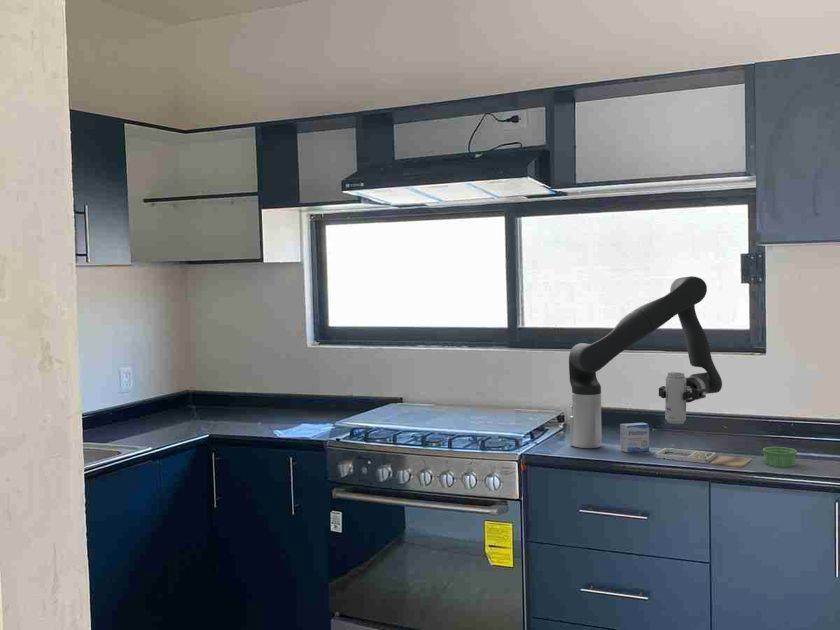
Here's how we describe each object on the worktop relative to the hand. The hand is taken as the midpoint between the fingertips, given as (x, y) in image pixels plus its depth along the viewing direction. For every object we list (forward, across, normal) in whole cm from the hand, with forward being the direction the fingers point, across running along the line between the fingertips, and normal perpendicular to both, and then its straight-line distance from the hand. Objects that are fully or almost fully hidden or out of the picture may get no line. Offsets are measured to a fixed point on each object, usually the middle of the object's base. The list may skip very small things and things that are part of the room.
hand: (673, 395), depth 250 cm
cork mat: (-3, +16, +19) cm, 25 cm away
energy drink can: (-2, 0, +9) cm, 9 cm away
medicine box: (-4, -13, +19) cm, 24 cm away
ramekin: (-7, +29, +19) cm, 35 cm away
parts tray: (-3, +3, +19) cm, 19 cm away
